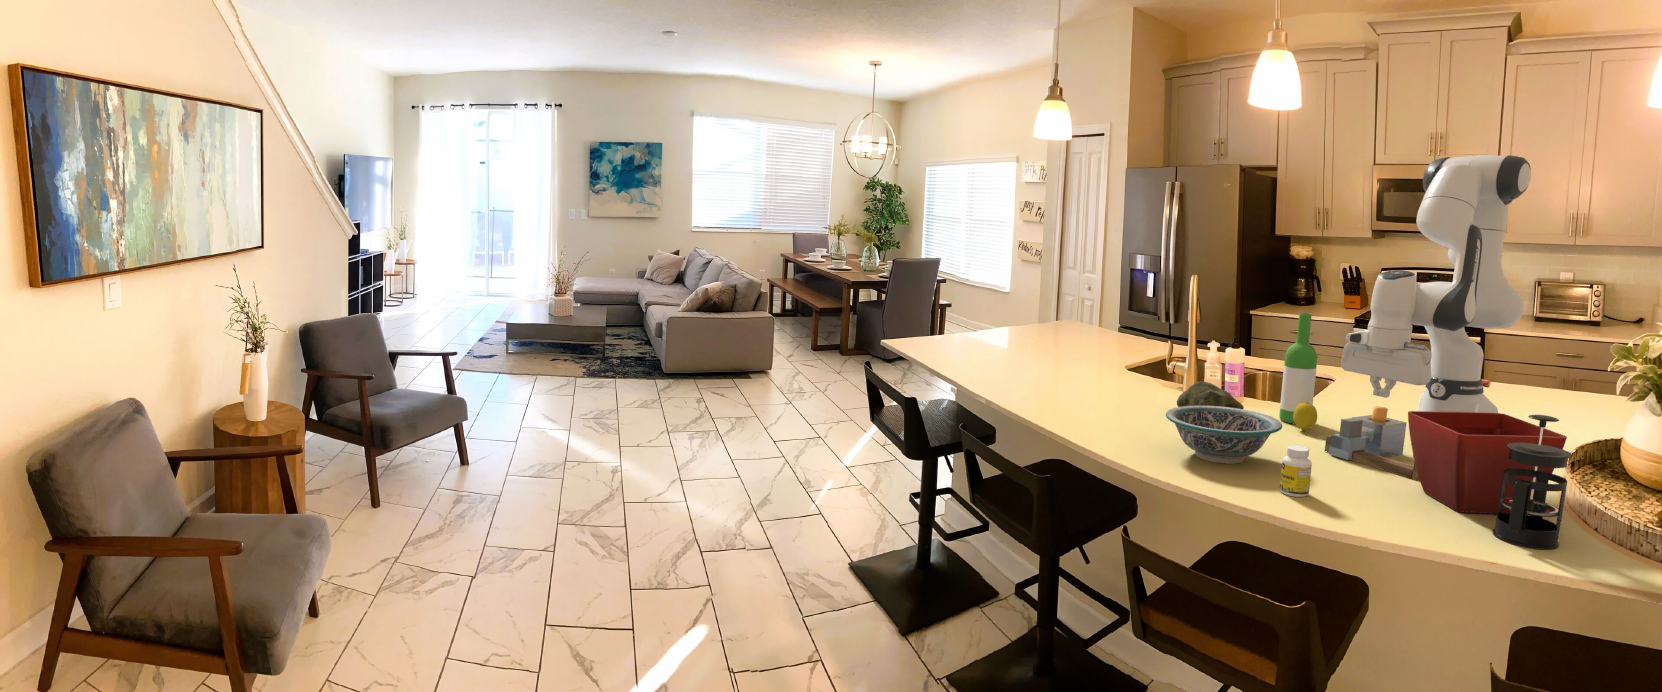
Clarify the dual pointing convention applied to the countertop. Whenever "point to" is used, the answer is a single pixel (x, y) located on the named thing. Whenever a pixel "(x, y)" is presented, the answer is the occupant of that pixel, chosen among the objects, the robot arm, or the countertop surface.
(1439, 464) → the plant pot
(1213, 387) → the decorative rock
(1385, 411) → the gauge button
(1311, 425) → the lemon
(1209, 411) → the bowl
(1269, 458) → the countertop surface
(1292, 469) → the supplement bottle
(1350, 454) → the carriage
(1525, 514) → the french press
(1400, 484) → the countertop surface
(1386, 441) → the grey cube with hole
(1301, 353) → the wine bottle
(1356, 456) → the rail
